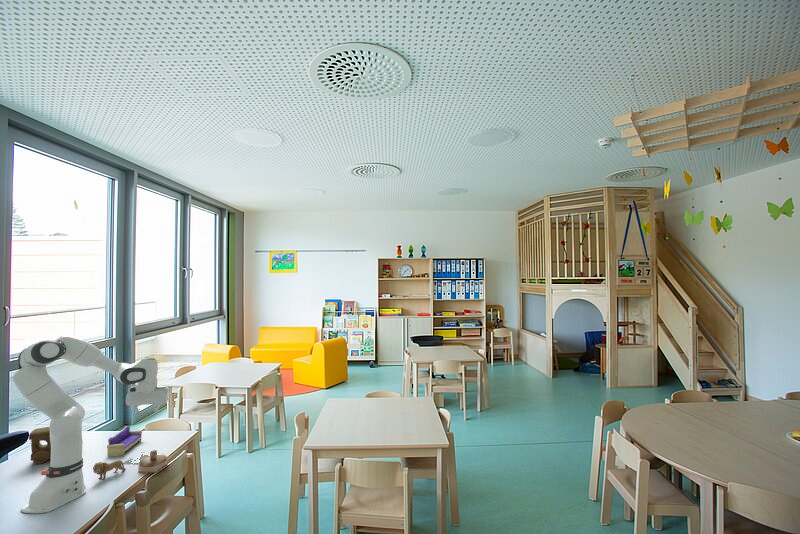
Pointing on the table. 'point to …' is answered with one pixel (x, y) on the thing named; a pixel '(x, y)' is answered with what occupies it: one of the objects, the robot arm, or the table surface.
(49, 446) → the wooden toy train
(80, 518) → the table surface
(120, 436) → the toy sofa
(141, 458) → the mat
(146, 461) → the lid
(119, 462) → the lion figurine
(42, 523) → the table surface
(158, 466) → the open box
